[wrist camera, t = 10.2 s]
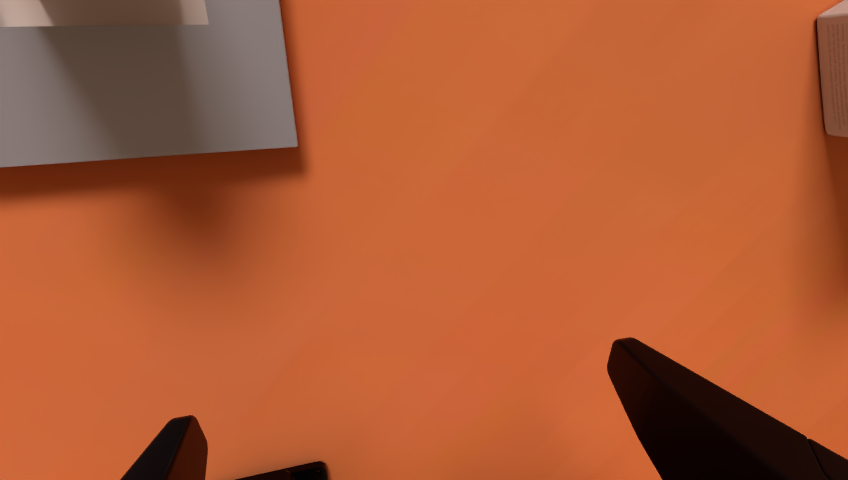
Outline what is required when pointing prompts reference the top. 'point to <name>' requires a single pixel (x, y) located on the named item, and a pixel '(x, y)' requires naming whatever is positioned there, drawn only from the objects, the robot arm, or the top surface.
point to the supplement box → (834, 67)
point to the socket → (141, 79)
